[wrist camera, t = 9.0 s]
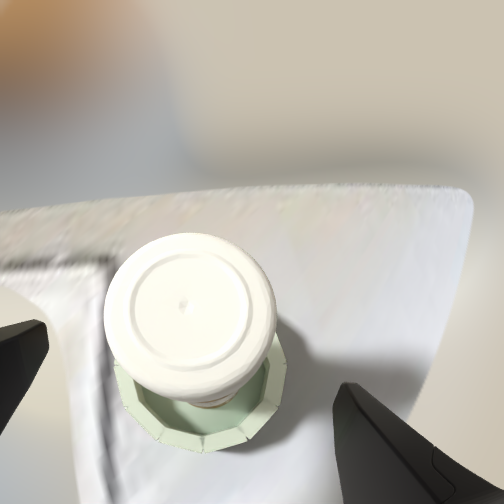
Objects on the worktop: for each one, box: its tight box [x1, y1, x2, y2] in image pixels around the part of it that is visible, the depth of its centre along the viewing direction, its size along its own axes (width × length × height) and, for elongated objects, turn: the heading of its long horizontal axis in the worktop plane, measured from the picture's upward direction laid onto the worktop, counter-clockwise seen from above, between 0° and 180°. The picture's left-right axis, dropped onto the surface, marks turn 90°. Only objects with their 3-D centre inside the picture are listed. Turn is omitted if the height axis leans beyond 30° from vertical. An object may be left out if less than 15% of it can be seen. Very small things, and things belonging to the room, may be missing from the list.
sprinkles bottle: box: [104, 233, 277, 409], centre depth 14 cm, size 5×4×13 cm
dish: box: [114, 332, 287, 453], centre depth 19 cm, size 10×10×2 cm
